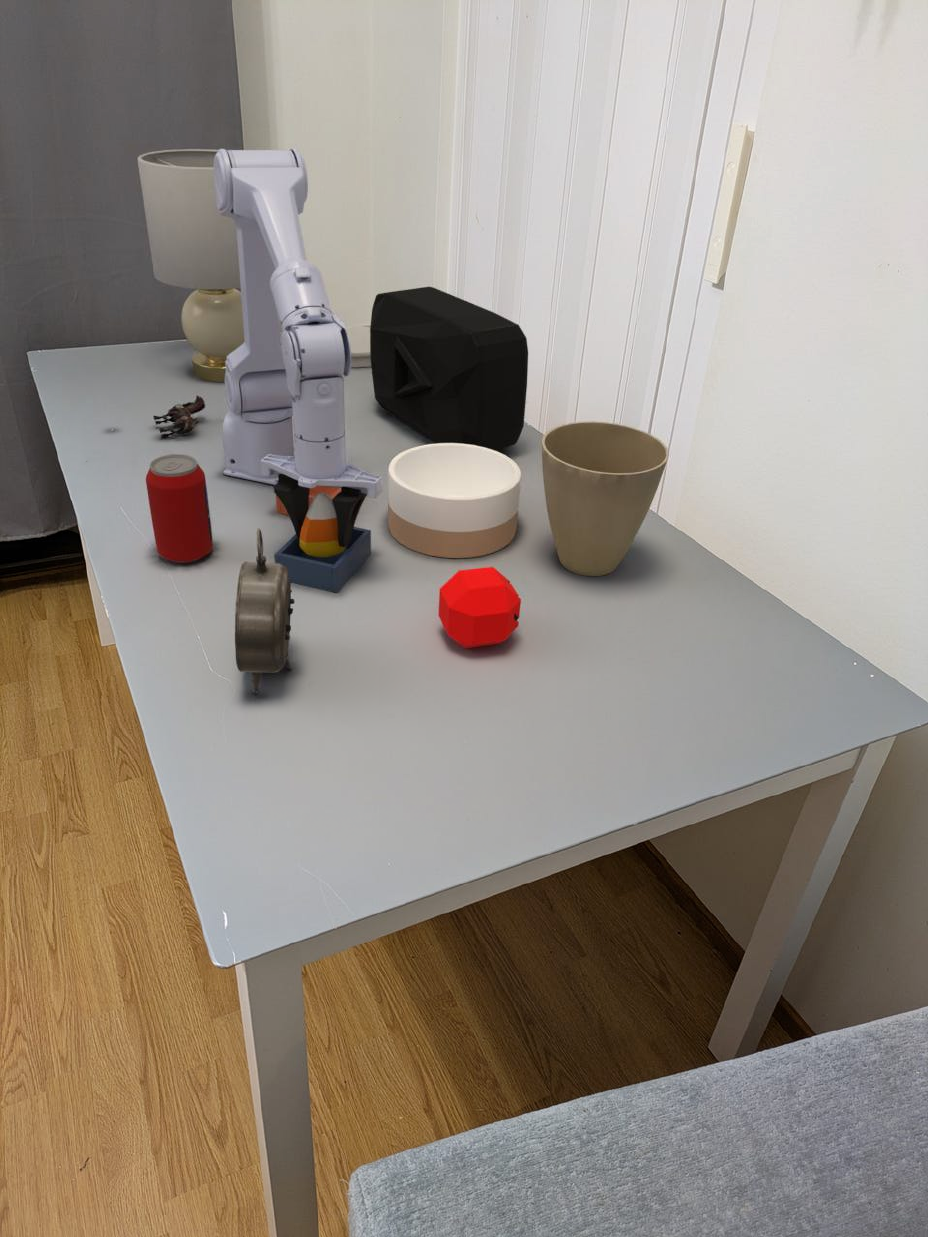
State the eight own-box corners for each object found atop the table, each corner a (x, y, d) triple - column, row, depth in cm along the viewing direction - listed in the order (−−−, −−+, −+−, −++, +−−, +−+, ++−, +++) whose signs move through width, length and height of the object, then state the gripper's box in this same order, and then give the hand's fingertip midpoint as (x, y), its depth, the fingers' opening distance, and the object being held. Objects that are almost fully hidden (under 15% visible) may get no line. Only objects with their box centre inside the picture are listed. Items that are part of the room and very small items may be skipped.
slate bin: (276, 578, 109) (274, 554, 107) (313, 541, 117) (312, 517, 115) (337, 592, 107) (336, 568, 106) (371, 553, 115) (371, 530, 113)
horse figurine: (125, 464, 139) (220, 433, 143) (116, 442, 137) (213, 411, 141) (114, 436, 145) (205, 407, 149) (105, 414, 142) (198, 385, 146)
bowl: (421, 569, 113) (423, 509, 108) (367, 509, 125) (367, 453, 120) (540, 543, 120) (546, 485, 115) (478, 489, 132) (481, 434, 127)
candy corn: (347, 544, 113) (345, 485, 109) (350, 556, 111) (349, 496, 106) (298, 548, 112) (295, 489, 107) (301, 560, 109) (297, 500, 105)
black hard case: (522, 456, 143) (534, 327, 131) (459, 473, 136) (466, 339, 125) (413, 395, 162) (415, 278, 151) (353, 407, 156) (351, 287, 145)
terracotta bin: (276, 512, 123) (275, 489, 121) (310, 483, 131) (309, 461, 129) (330, 524, 121) (329, 501, 119) (361, 493, 129) (361, 471, 127)
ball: (522, 652, 99) (529, 593, 95) (452, 662, 97) (455, 601, 93) (499, 612, 106) (504, 555, 101) (433, 620, 104) (435, 562, 99)
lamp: (175, 353, 174) (149, 146, 155) (282, 354, 177) (270, 151, 157) (158, 390, 158) (126, 164, 138) (276, 391, 160) (261, 169, 140)
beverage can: (224, 546, 115) (214, 457, 108) (194, 571, 110) (182, 480, 103) (178, 535, 117) (165, 447, 110) (146, 559, 111) (131, 469, 105)
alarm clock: (249, 638, 99) (236, 504, 90) (300, 638, 99) (292, 504, 90) (237, 703, 90) (221, 560, 81) (293, 702, 90) (283, 561, 81)
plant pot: (509, 543, 119) (520, 428, 110) (608, 527, 124) (625, 415, 116) (564, 603, 108) (581, 480, 99) (669, 581, 113) (694, 463, 104)
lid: (291, 340, 184) (290, 325, 182) (390, 339, 188) (390, 324, 186) (296, 369, 170) (295, 353, 168) (402, 367, 174) (403, 351, 172)
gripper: (243, 433, 101) (253, 541, 109) (364, 456, 98) (365, 566, 105) (274, 412, 107) (281, 515, 114) (389, 433, 103) (389, 538, 111)
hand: (323, 538), depth 110 cm, fingers closed on candy corn, 5 cm apart
